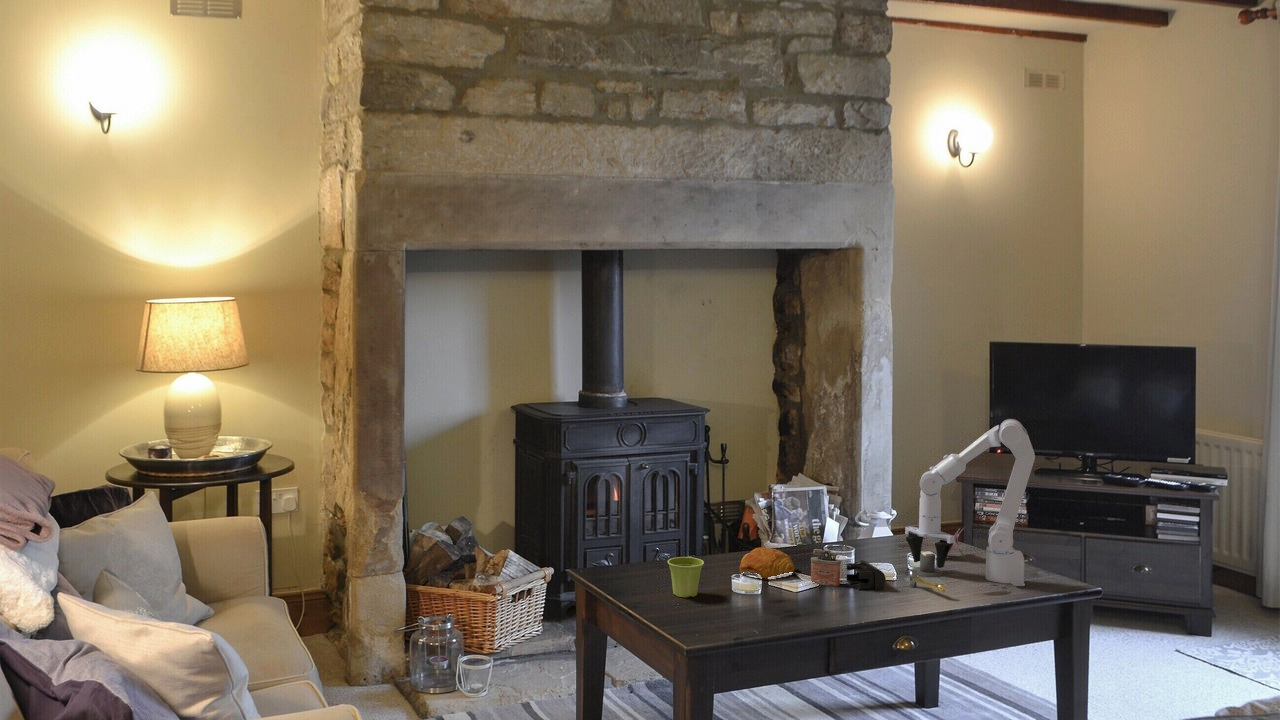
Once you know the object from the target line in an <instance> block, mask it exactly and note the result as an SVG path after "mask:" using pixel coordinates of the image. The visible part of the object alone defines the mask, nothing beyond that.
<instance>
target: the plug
mask: <svg viewBox="0 0 1280 720" xmlns="http://www.w3.org/2000/svg"><path fill="white" fill-rule="evenodd" d="M935 559H936V554H934V552H932V551H930V550H929V551H921V554H920V561H919V567H913V568H912V569H911V571H917V577H921V578H935V577H937V578H939V577H942V576H943V570H941V569H940V568H936V560H935Z"/></svg>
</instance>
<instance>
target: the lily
mask: <svg viewBox="0 0 1280 720" xmlns="http://www.w3.org/2000/svg"><path fill="white" fill-rule="evenodd" d="M964 529H965V527H963V528H962V529H961V530H960V529H958V530H957V531H956V532H955V534H954V543H953V546H952V547H951V549H950V550H949V551H953V550H958V551H959V552H960V553H961V555H962V556H963V558H964V560H965V561H967V558H966V556H965V555H964V553H963V551H962V550H961V549H960V548H959V542H958V541H959V536H960V534H961V532H962V531H963V530H964Z"/></svg>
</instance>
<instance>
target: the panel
mask: <svg viewBox="0 0 1280 720" xmlns="http://www.w3.org/2000/svg"><path fill="white" fill-rule="evenodd" d="M921 578H922V579H925V580H927V581H930V582H932V583H935V584H937V585H939V584H943V585H946V587H945V588H950V586H949V585H948V584H947V583H945V582H944V581H943V580H941V579H940V578H939V577H921ZM903 579H904V580H905V581H906V582H908V583H909V584H910V577H903ZM915 588H916V589H920V588H921V589H924V588H925V589H927V588H929V589H931V588H930V587H928V586H925V585H923V584H920V583H918V582H917V587H915Z"/></svg>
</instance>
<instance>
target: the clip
mask: <svg viewBox="0 0 1280 720" xmlns="http://www.w3.org/2000/svg"><path fill="white" fill-rule="evenodd" d="M909 578H910V583H909V587H910V588H916V587H917V582H918V583H920V584H923V585H925V586H928V587H930V588H929V589H933V590H936V591H938V592H940V593H941V592H942V593H945V592H946V588H947V587H946V585H943V584H939V585H937V584H935V583H932V582H930V581H927V580H925V579H922V578H923V577H921V576H918V575H917V571H912V570H909Z"/></svg>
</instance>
